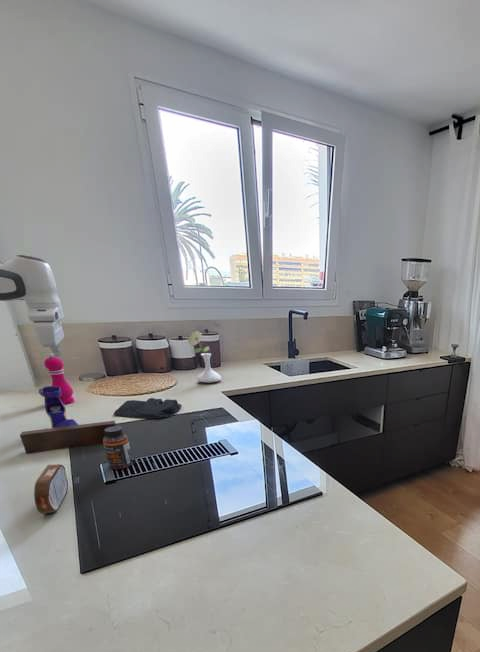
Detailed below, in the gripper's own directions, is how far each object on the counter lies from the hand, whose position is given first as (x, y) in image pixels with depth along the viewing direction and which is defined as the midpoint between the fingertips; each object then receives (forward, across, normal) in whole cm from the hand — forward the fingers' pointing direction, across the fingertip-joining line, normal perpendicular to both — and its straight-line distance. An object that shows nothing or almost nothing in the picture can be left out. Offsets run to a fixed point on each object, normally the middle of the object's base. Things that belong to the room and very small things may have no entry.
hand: (58, 356), depth 130 cm
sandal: (+24, +10, -2) cm, 26 cm away
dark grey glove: (+24, -5, +23) cm, 34 cm away
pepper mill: (+24, -31, -7) cm, 40 cm away
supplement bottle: (+24, +43, +15) cm, 51 cm away
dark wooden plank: (+24, +21, +2) cm, 32 cm away
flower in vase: (+24, -43, +51) cm, 71 cm away
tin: (+24, +59, +2) cm, 63 cm away
